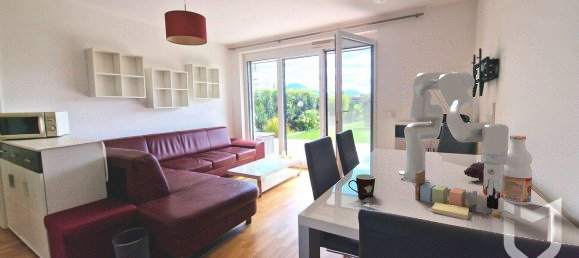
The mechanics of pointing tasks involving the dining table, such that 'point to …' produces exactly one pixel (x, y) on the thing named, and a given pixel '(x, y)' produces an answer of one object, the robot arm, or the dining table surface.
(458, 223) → the dining table surface
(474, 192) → the bookend
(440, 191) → the olive book
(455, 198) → the terracotta book
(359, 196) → the coffee mug
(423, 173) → the shelf
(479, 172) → the pine cone
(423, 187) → the blue book
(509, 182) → the fruit juice
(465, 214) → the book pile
